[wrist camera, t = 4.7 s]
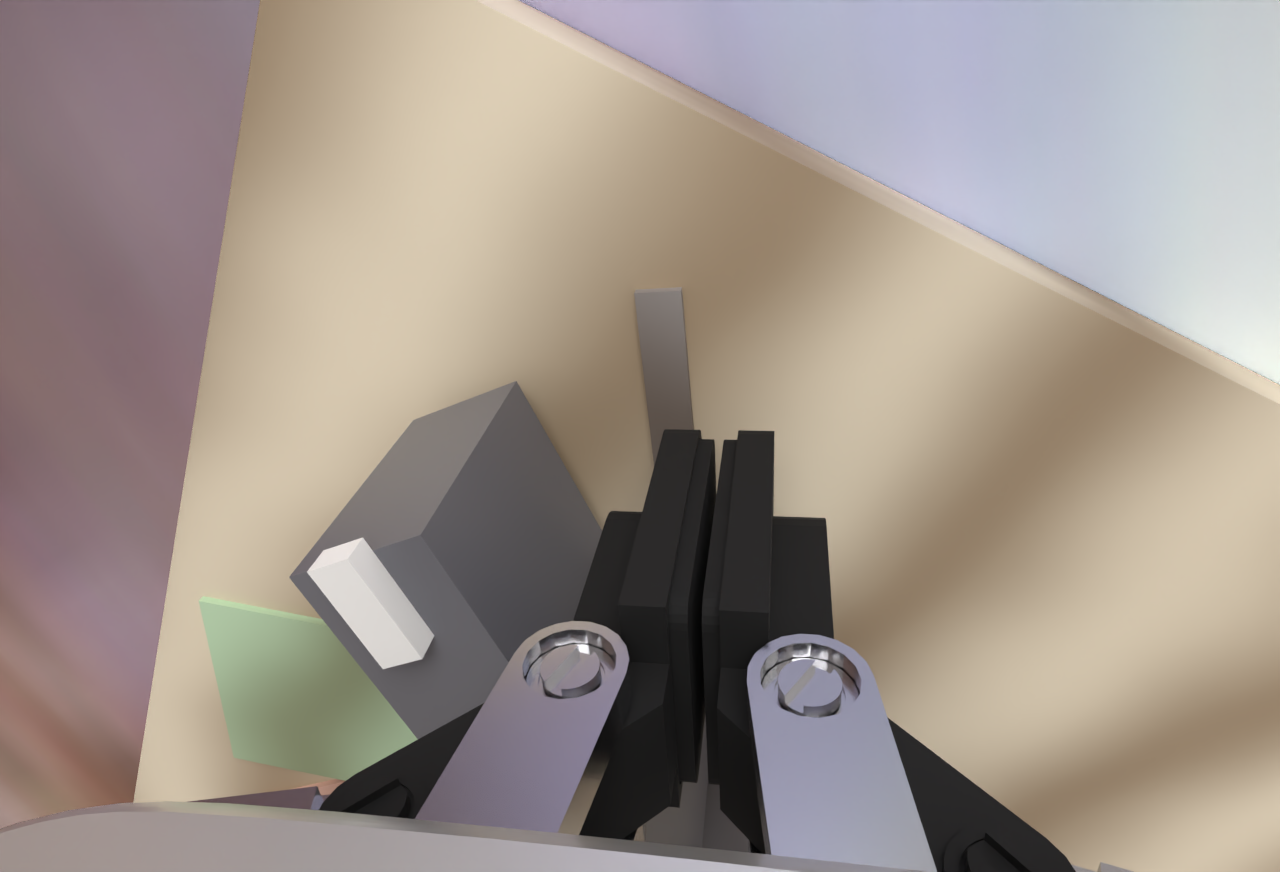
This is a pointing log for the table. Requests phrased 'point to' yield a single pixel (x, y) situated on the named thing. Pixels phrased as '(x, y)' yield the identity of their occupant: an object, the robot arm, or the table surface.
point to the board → (719, 422)
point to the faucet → (470, 574)
